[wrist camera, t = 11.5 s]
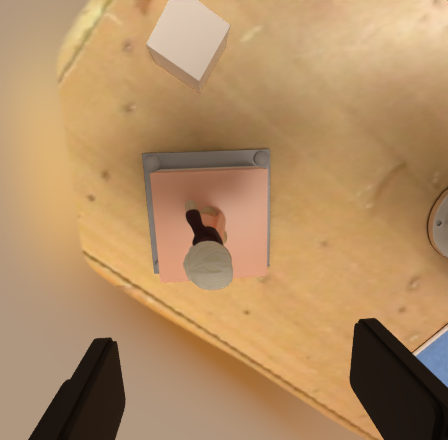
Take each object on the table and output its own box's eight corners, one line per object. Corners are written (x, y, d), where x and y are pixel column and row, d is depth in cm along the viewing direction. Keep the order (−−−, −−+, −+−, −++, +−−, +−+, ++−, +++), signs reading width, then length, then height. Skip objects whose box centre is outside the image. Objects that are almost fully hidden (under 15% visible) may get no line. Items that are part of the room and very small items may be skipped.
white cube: (181, 15, 31) (177, -16, 25) (225, 48, 32) (230, 24, 27) (155, 64, 32) (145, 44, 26) (199, 93, 33) (199, 81, 28)
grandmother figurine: (242, 241, 30) (271, 303, 17) (213, 260, 30) (221, 334, 18) (202, 183, 28) (204, 206, 16) (171, 203, 28) (149, 242, 16)
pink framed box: (268, 149, 35) (287, 148, 28) (267, 263, 39) (283, 290, 32) (143, 153, 34) (126, 153, 27) (155, 270, 38) (143, 300, 30)
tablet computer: (406, 421, 50) (412, 428, 49) (366, 384, 47) (371, 391, 46) (492, 353, 48) (500, 359, 46) (455, 310, 45) (463, 315, 44)
